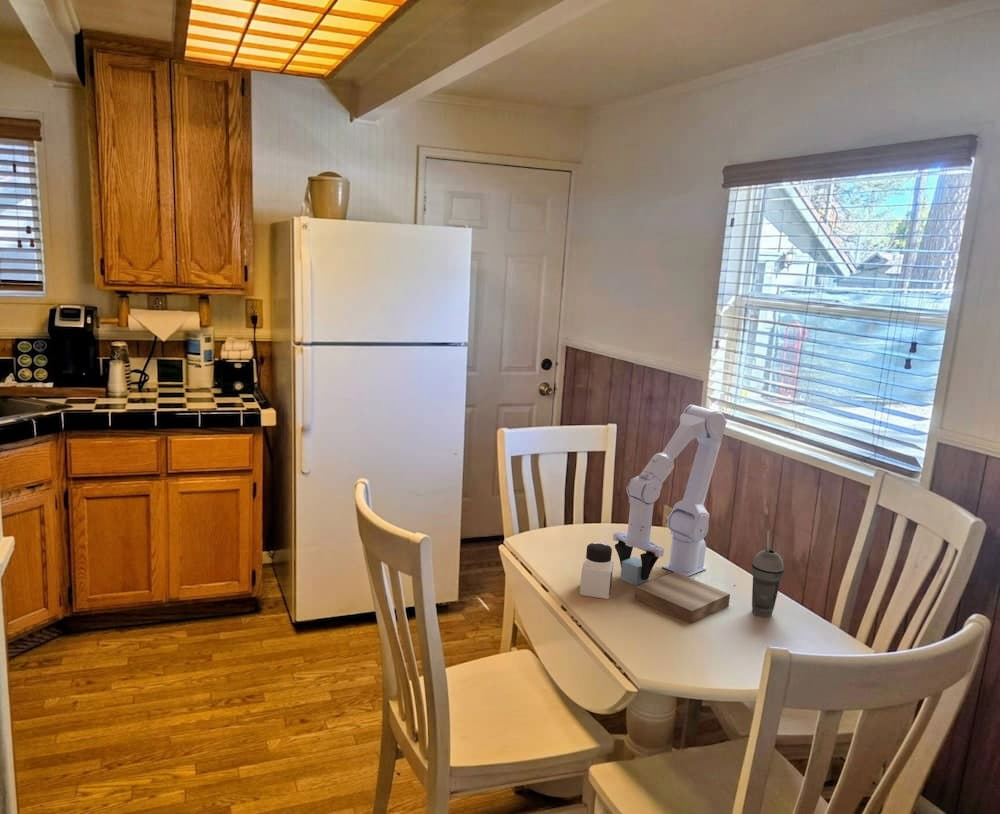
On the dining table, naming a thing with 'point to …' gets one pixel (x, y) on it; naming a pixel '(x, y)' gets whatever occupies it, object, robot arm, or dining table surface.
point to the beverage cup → (766, 581)
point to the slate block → (632, 571)
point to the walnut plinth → (682, 597)
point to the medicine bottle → (597, 571)
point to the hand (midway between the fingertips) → (634, 574)
